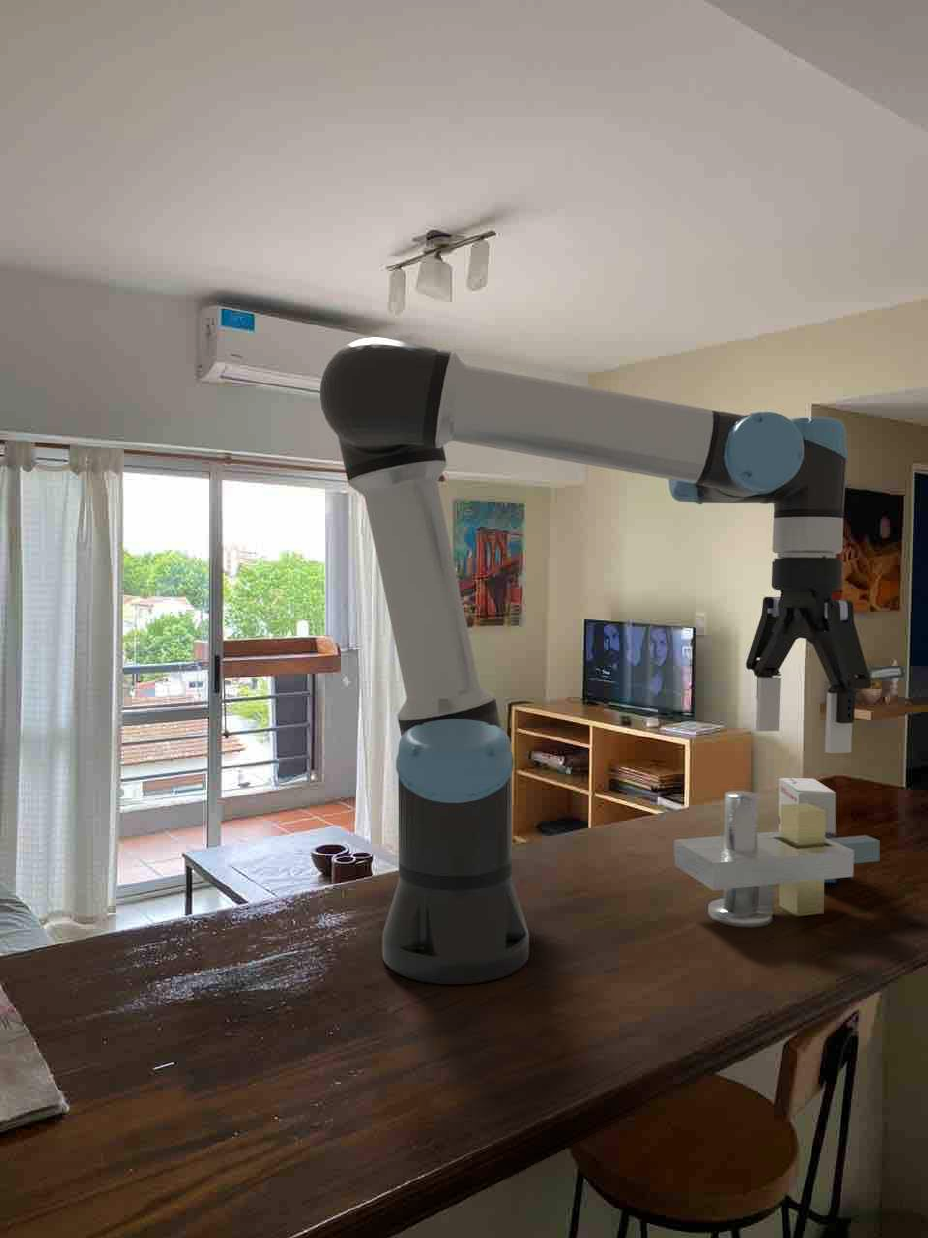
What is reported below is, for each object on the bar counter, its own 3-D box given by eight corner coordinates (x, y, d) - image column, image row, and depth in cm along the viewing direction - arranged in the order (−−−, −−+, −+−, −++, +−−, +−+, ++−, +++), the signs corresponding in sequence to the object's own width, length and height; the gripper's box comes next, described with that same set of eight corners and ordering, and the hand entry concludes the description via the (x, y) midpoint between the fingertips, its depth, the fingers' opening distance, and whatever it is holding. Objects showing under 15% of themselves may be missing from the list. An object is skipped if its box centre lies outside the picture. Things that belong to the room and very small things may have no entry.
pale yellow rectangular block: (796, 916, 107) (798, 812, 107) (779, 905, 111) (780, 805, 110) (823, 913, 108) (825, 810, 107) (805, 902, 111) (807, 803, 111)
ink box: (837, 884, 118) (839, 791, 117) (797, 884, 118) (799, 791, 117) (813, 863, 127) (815, 776, 126) (776, 862, 127) (777, 776, 126)
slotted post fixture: (712, 936, 101) (713, 808, 101) (673, 907, 110) (674, 789, 109) (897, 915, 107) (900, 794, 107) (847, 889, 116) (849, 777, 115)
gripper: (912, 556, 96) (904, 761, 97) (774, 557, 120) (768, 722, 121) (849, 554, 94) (841, 764, 95) (721, 556, 118) (716, 723, 119)
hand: (800, 741), depth 108 cm, fingers open, 13 cm apart
